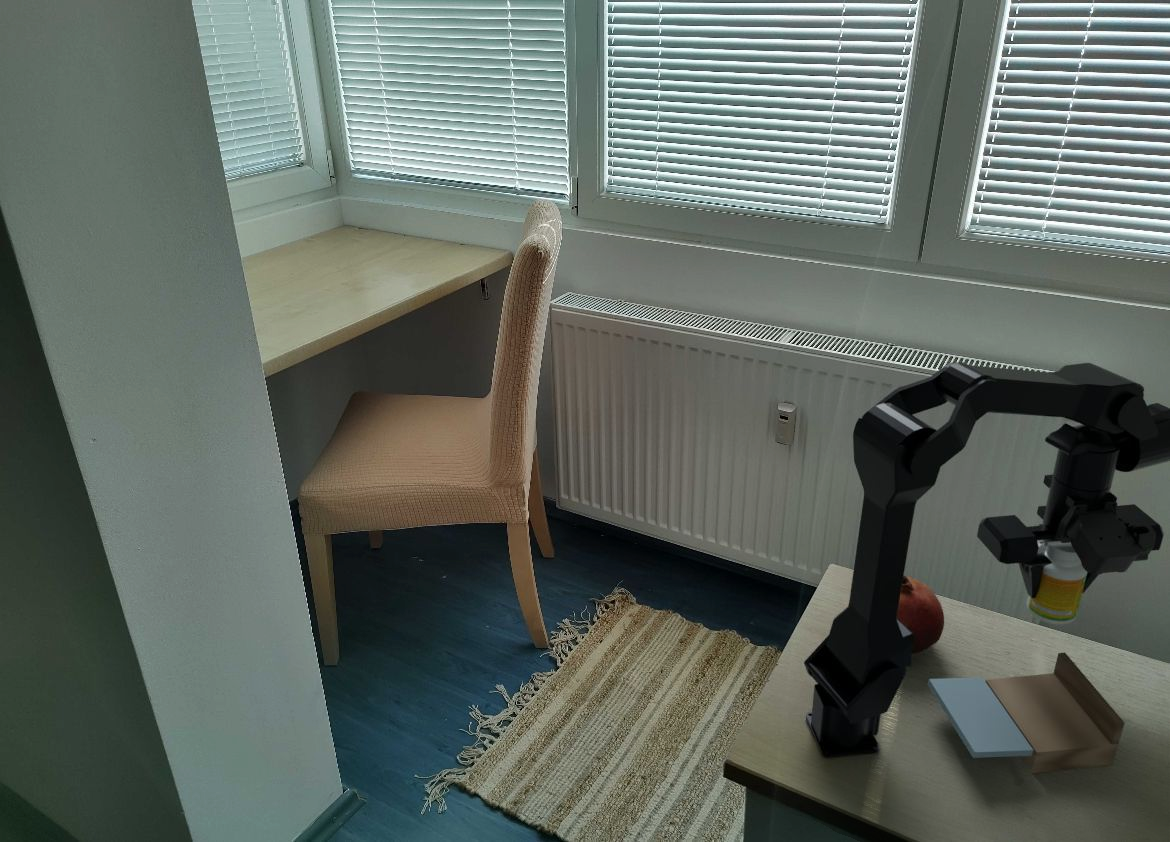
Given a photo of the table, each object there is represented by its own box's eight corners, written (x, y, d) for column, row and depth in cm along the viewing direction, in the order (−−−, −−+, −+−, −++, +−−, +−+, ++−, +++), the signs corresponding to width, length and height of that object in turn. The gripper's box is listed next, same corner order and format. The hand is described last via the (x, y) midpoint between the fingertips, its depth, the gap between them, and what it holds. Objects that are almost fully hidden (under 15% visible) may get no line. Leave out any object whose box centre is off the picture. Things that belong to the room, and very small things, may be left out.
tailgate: (1030, 757, 95) (972, 759, 95) (980, 684, 105) (927, 686, 105) (1033, 750, 95) (974, 752, 94) (982, 677, 105) (929, 678, 104)
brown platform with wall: (1031, 773, 97) (1042, 731, 94) (981, 699, 106) (989, 659, 104) (1112, 764, 97) (1124, 722, 94) (1055, 691, 107) (1065, 652, 104)
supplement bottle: (1081, 628, 104) (1099, 558, 99) (1031, 623, 105) (1047, 554, 100) (1069, 599, 108) (1085, 531, 104) (1021, 595, 110) (1035, 527, 105)
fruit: (841, 651, 115) (847, 587, 110) (866, 608, 122) (873, 547, 118) (927, 681, 109) (938, 615, 105) (947, 634, 117) (958, 571, 112)
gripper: (1040, 525, 91) (1013, 647, 98) (1216, 509, 92) (1177, 631, 99) (985, 471, 101) (965, 585, 108) (1145, 457, 102) (1115, 571, 109)
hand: (1055, 593), depth 105 cm, fingers closed on supplement bottle, 5 cm apart
